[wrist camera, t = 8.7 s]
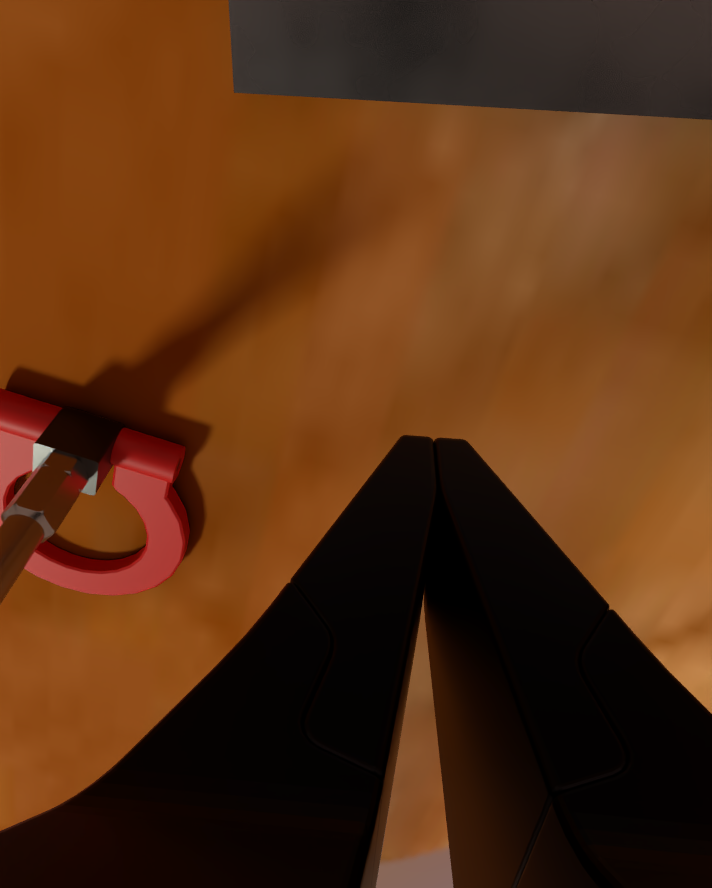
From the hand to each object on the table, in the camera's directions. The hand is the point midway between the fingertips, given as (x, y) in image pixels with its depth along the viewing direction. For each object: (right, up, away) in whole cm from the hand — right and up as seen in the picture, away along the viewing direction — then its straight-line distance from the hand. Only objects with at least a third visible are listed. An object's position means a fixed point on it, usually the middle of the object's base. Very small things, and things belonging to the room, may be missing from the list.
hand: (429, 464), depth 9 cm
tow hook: (-11, -2, +17) cm, 21 cm away
